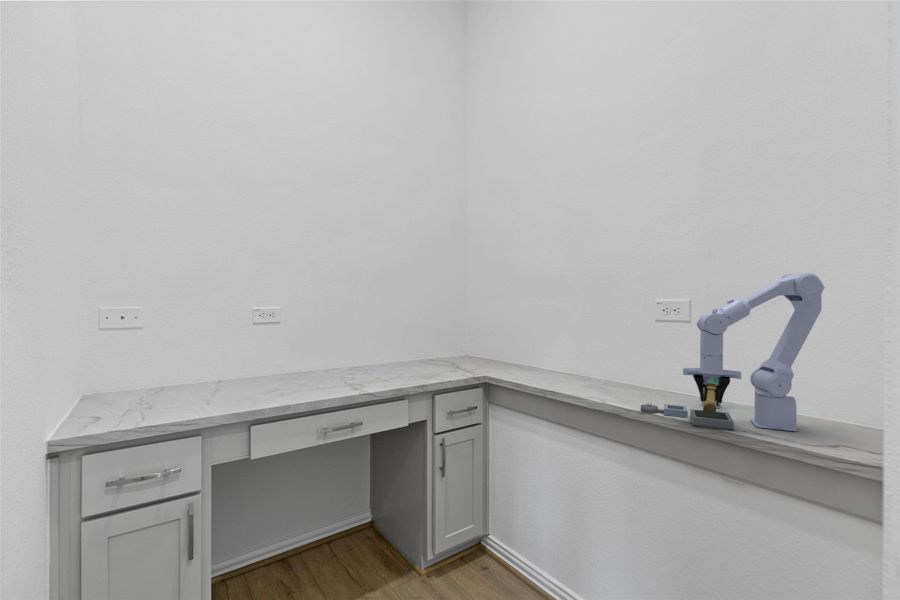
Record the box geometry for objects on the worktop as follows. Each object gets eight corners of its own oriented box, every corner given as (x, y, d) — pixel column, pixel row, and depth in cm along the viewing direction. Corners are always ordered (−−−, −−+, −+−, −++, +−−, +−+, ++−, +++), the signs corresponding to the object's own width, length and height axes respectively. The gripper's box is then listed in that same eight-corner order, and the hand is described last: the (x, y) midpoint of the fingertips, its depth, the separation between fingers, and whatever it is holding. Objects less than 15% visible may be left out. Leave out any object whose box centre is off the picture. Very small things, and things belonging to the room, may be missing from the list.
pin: (716, 410, 131) (717, 384, 131) (718, 414, 127) (720, 387, 127) (700, 409, 133) (702, 382, 132) (702, 412, 129) (704, 385, 128)
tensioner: (686, 412, 141) (686, 404, 141) (687, 417, 136) (687, 409, 136) (641, 407, 147) (641, 400, 147) (640, 412, 141) (640, 404, 141)
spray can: (703, 403, 152) (703, 345, 152) (721, 406, 149) (722, 346, 148) (700, 406, 148) (700, 346, 147) (719, 409, 144) (719, 348, 144)
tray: (728, 420, 132) (728, 412, 132) (733, 430, 123) (733, 421, 123) (690, 416, 136) (690, 408, 136) (692, 426, 127) (692, 417, 127)
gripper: (738, 354, 130) (738, 400, 130) (682, 351, 136) (682, 395, 136) (742, 357, 123) (742, 406, 124) (683, 354, 130) (683, 401, 130)
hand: (710, 401), depth 130 cm, fingers closed on pin, 4 cm apart
